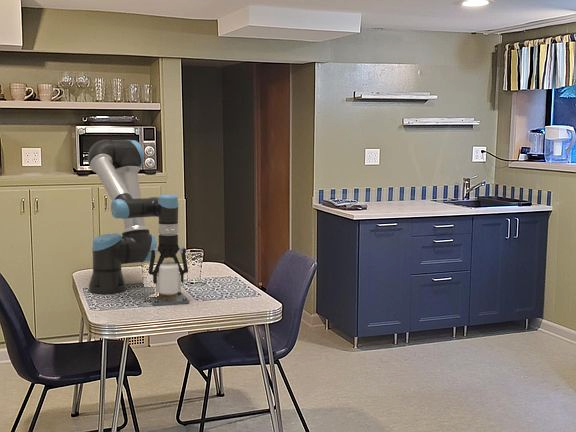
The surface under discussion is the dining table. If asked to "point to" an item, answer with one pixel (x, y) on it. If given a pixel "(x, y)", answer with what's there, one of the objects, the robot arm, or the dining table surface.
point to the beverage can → (168, 278)
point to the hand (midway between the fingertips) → (168, 290)
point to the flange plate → (169, 299)
